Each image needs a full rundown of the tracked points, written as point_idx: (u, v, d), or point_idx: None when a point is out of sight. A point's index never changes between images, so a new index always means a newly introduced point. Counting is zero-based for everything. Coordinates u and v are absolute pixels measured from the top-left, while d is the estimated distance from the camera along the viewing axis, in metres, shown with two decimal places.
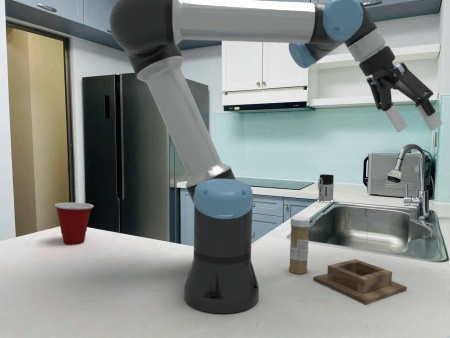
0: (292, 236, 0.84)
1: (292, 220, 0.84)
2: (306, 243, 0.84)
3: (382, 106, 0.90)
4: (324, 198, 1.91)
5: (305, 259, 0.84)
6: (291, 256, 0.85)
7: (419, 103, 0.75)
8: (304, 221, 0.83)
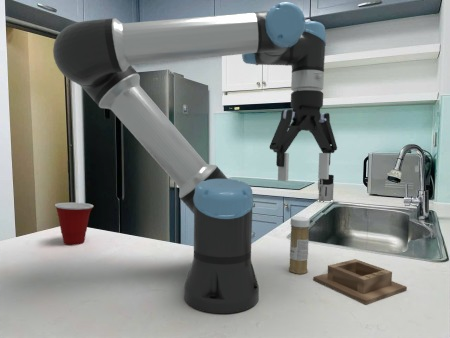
0: (292, 236, 0.84)
1: (292, 220, 0.84)
2: (306, 243, 0.84)
3: None
4: (324, 198, 1.91)
5: (305, 259, 0.84)
6: (291, 256, 0.85)
7: (275, 150, 0.80)
8: (304, 221, 0.83)
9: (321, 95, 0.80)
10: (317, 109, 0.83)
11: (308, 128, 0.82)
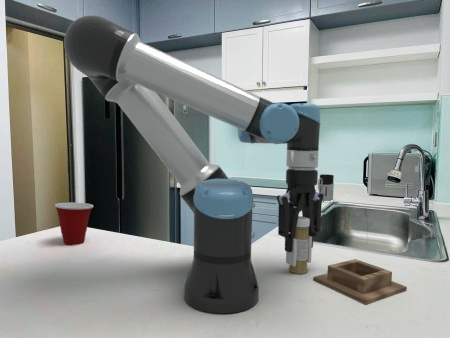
0: None
1: None
2: (306, 243, 0.84)
3: None
4: (324, 198, 1.91)
5: (305, 259, 0.84)
6: None
7: None
8: (304, 221, 0.83)
9: (315, 174, 0.82)
10: (312, 185, 0.85)
11: (303, 205, 0.84)
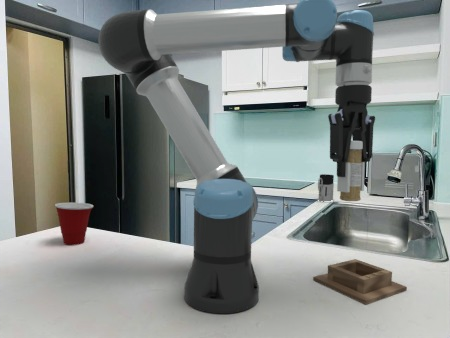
0: None
1: None
2: (360, 167, 0.76)
3: None
4: (324, 198, 1.91)
5: (359, 185, 0.77)
6: None
7: (335, 161, 0.77)
8: (358, 142, 0.75)
9: (370, 90, 0.74)
10: (364, 105, 0.77)
11: (355, 126, 0.76)
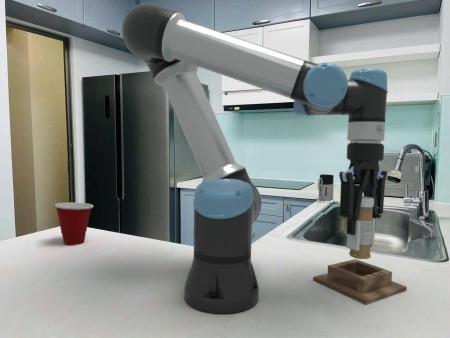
0: None
1: None
2: (370, 225, 0.75)
3: None
4: (324, 198, 1.91)
5: (369, 243, 0.76)
6: None
7: None
8: (369, 200, 0.74)
9: (383, 148, 0.73)
10: (376, 161, 0.76)
11: (367, 183, 0.75)
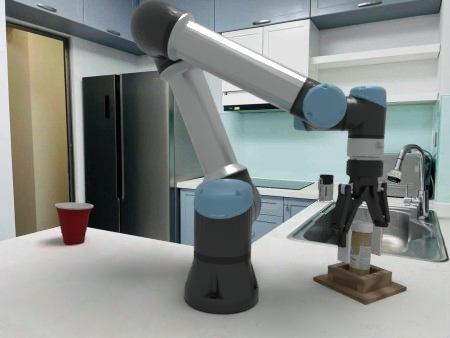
0: (353, 242, 0.77)
1: (354, 225, 0.76)
2: (369, 250, 0.76)
3: None
4: (324, 198, 1.91)
5: (368, 268, 0.76)
6: (352, 264, 0.77)
7: None
8: (368, 226, 0.75)
9: (382, 165, 0.74)
10: (375, 177, 0.77)
11: (366, 199, 0.76)
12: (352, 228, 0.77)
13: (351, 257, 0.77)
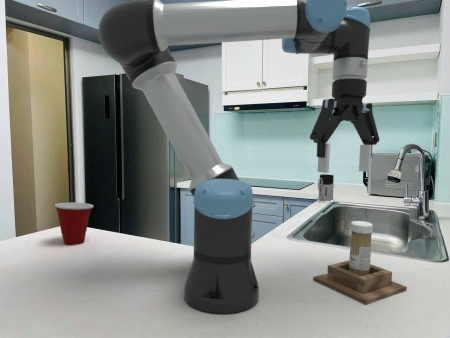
0: (353, 243, 0.76)
1: (353, 225, 0.76)
2: (369, 251, 0.76)
3: None
4: (324, 198, 1.91)
5: (368, 268, 0.76)
6: (352, 265, 0.77)
7: (315, 140, 0.78)
8: (368, 227, 0.75)
9: (365, 84, 0.77)
10: (360, 99, 0.80)
11: (350, 118, 0.79)
12: (352, 229, 0.77)
13: (351, 258, 0.77)
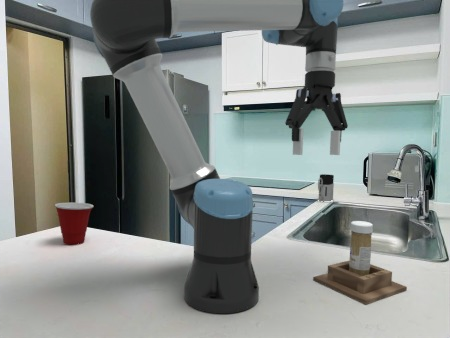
0: (353, 243, 0.76)
1: (353, 225, 0.76)
2: (369, 251, 0.76)
3: None
4: (324, 198, 1.91)
5: (368, 268, 0.76)
6: (352, 265, 0.77)
7: (290, 126, 0.87)
8: (368, 227, 0.75)
9: (333, 75, 0.87)
10: (329, 89, 0.90)
11: (321, 106, 0.89)
12: (352, 229, 0.77)
13: (351, 258, 0.77)
